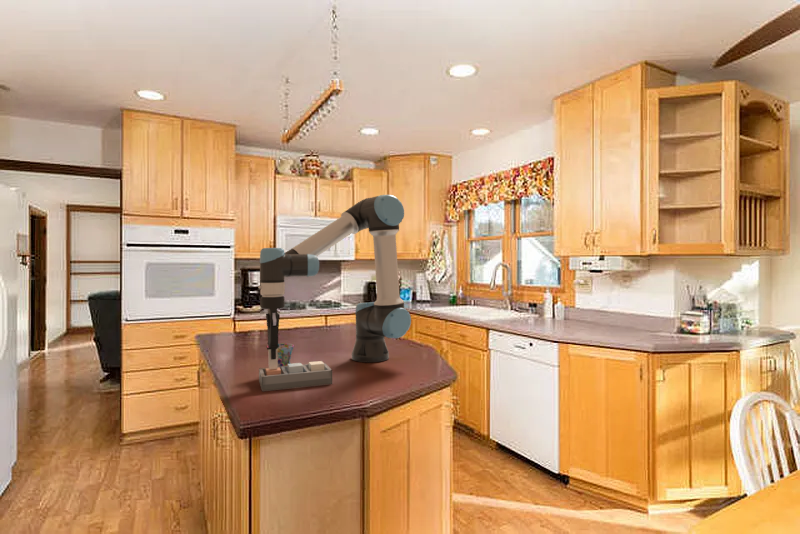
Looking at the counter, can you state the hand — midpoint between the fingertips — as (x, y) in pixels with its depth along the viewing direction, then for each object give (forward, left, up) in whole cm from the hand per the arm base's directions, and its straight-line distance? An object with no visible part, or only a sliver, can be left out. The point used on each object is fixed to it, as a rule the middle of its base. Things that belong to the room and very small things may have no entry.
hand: (273, 368), depth 148 cm
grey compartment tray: (-7, 0, -5) cm, 9 cm away
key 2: (-14, 0, -2) cm, 14 cm away
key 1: (0, 0, -3) cm, 3 cm away
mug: (-4, -13, -6) cm, 14 cm away
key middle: (-7, 0, -2) cm, 7 cm away
